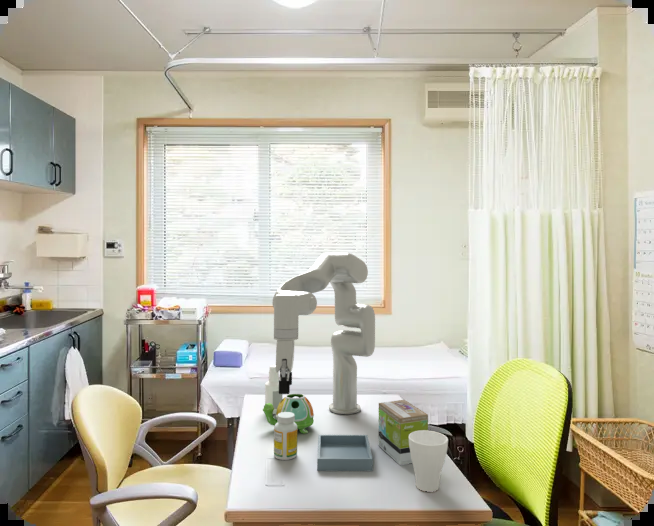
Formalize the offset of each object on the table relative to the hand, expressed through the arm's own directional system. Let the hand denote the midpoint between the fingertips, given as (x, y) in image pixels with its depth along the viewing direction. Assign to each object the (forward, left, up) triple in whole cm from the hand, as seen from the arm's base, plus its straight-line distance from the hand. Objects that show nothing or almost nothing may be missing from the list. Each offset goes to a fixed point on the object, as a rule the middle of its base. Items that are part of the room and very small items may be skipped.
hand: (285, 389), depth 149 cm
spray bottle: (-40, -8, -21) cm, 46 cm away
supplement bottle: (0, 0, -21) cm, 21 cm away
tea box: (-2, +37, -21) cm, 42 cm away
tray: (+1, +18, -21) cm, 28 cm away
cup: (+19, +40, -21) cm, 49 cm away
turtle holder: (-22, 0, -21) cm, 31 cm away
